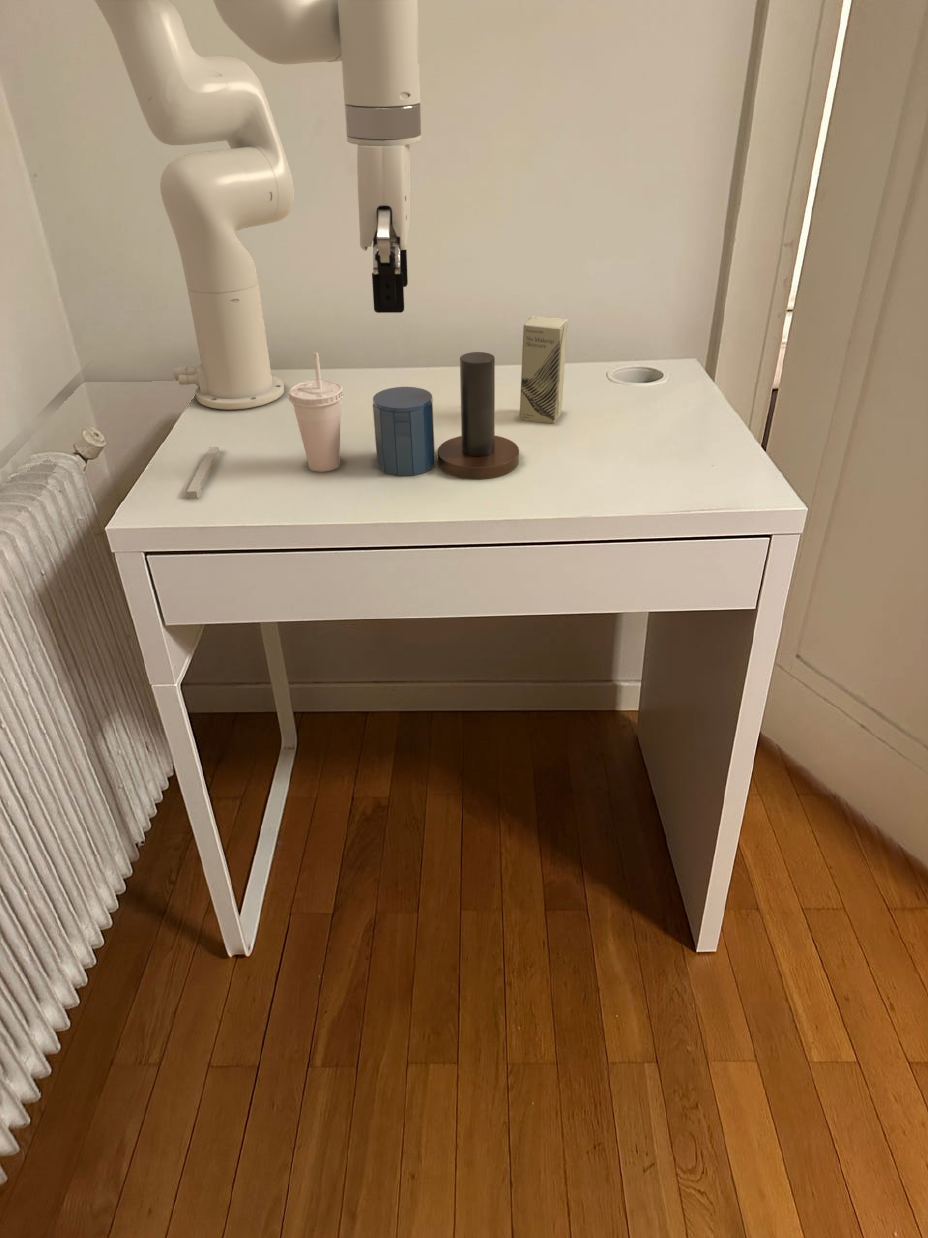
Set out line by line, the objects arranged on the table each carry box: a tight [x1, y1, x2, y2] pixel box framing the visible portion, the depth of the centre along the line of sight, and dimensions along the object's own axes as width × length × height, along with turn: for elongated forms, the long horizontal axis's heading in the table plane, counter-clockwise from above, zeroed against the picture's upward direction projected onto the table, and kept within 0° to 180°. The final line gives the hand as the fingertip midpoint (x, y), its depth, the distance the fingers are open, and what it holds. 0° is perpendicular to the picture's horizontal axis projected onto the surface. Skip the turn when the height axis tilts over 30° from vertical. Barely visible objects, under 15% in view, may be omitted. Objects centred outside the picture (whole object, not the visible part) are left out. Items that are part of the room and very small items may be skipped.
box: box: [519, 315, 569, 424], centre depth 119 cm, size 5×4×13 cm
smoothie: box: [288, 351, 345, 473], centre depth 107 cm, size 6×6×14 cm
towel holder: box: [437, 351, 520, 480], centre depth 107 cm, size 10×10×13 cm
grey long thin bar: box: [186, 446, 221, 500], centre depth 109 cm, size 12×1×1 cm, turn 1°
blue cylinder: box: [372, 386, 436, 477], centre depth 109 cm, size 7×7×8 cm
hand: (391, 298), depth 100 cm, fingers open, 9 cm apart
